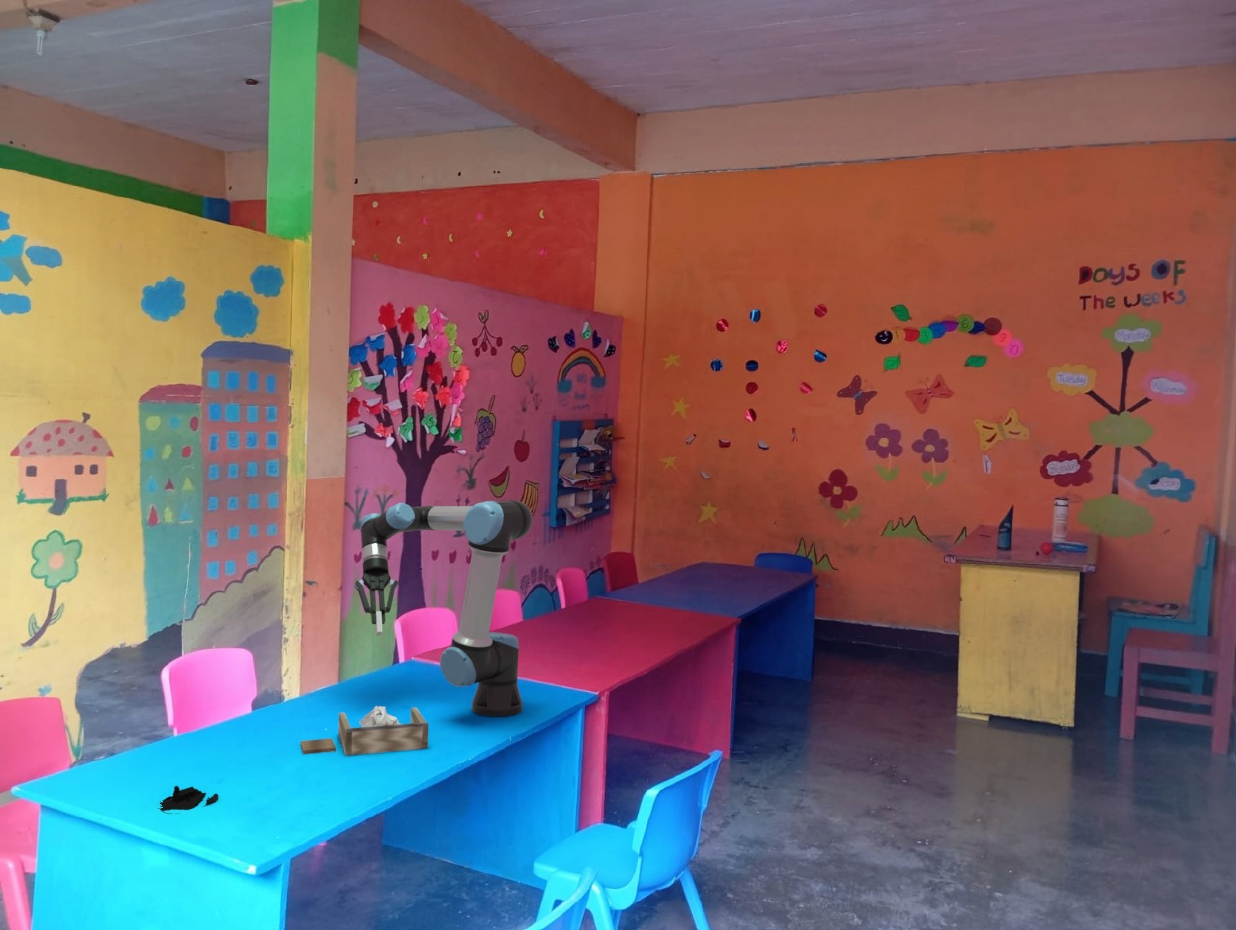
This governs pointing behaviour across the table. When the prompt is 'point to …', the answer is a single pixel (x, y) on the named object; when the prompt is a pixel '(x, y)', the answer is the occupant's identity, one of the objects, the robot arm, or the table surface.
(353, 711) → the table surface
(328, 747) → the lid plate
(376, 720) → the white rock
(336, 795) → the table surface
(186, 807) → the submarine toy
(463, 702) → the table surface
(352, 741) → the brown wooden box
